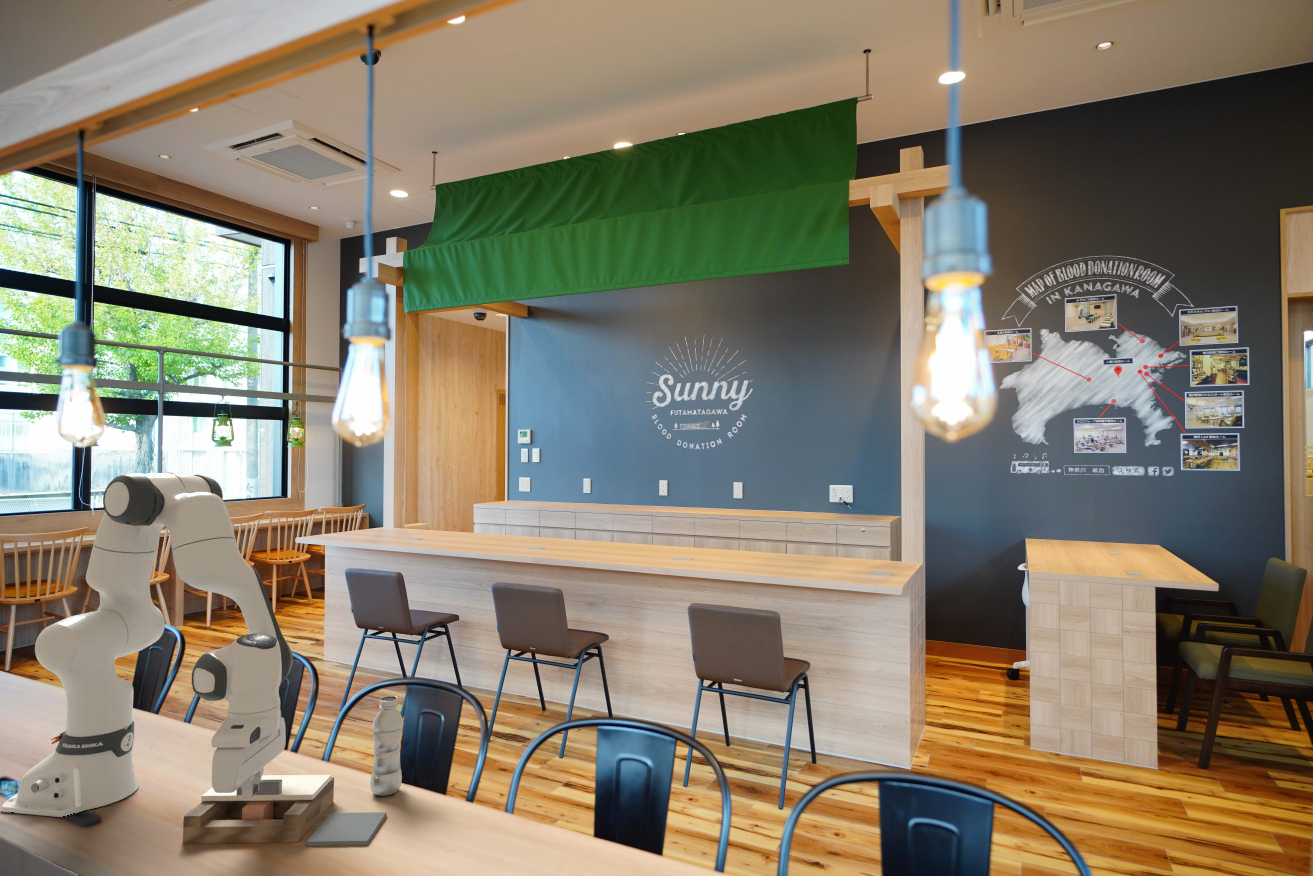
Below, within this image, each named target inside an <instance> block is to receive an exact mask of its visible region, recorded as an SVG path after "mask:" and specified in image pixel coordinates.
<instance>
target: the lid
mask: <svg viewBox="0 0 1313 876" xmlns="http://www.w3.org/2000/svg"><path fill="white" fill-rule="evenodd" d="M331 778H332V774H283V775H282V774H279V775H277V774H275V775H273V774H272V775H263V774H262V777H261V780H260V784H259V791H258V792H257V793H256V794H255V795H254V796H253V797H251V798H250V799H243V798H242V789H241V787H239V788H238V789H237V790H236V791H234V792H232V793H216V792H215V791H214V789H213V787H212V786H211V788H210V789H208V790H207V791H206V792H205V793H203V794H202V795H201V796H200V797H201V798H200V799H201V801H200V802H202V801H257V800H313V799H314V798H315V797H316V796H317V795H318V794H319V792H320V791H321V790H322V789H323V788H324V787H325V786H326V785H327V784H328V783H329V782H330V781H331Z"/></svg>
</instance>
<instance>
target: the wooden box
mask: <svg viewBox="0 0 1313 876" xmlns="http://www.w3.org/2000/svg"><path fill="white" fill-rule="evenodd" d="M334 789H335V777H331V781H330V782H329V783H328V784H327V785H326V786H325V787H324V788H323V789H322V790H321V791H320V792H319V794H318V795H317V796H316V797H315V798H314V799H313V800H274V808H273V819H266V820H242V808H243V807H245V806H246V805H247V804H248V803H249V802H250V801H200V802H199V803H198V804H197V805H196V806H195V807H193V808H191V810H190V811H188V812H187V813H186V814H185V815H183V826H182V827H183V828H182V844H183V845H186V844H187V845H189V844H190V845H192V844H248V843H249V844H253V843H254V844H255V843H256V844H257V843H261V844H262V843H266V844H267V843H299V842H300V841H301V840H302V839H304V837H305V836H306V835H307V833H308V832H309V831H310V830H311V828H313V826H314V825H315V824H316V823H317V822H318V821H319V819H320V818H321V817H322V816H323V815H324V814H325V812H327V810H328V809H329V808H330V806H331V805H332V804H333V803H334V796H335V795H334V791H335V790H334ZM274 818H275V819H274ZM276 818H277V819H276ZM280 818H281V819H280Z"/></svg>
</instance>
